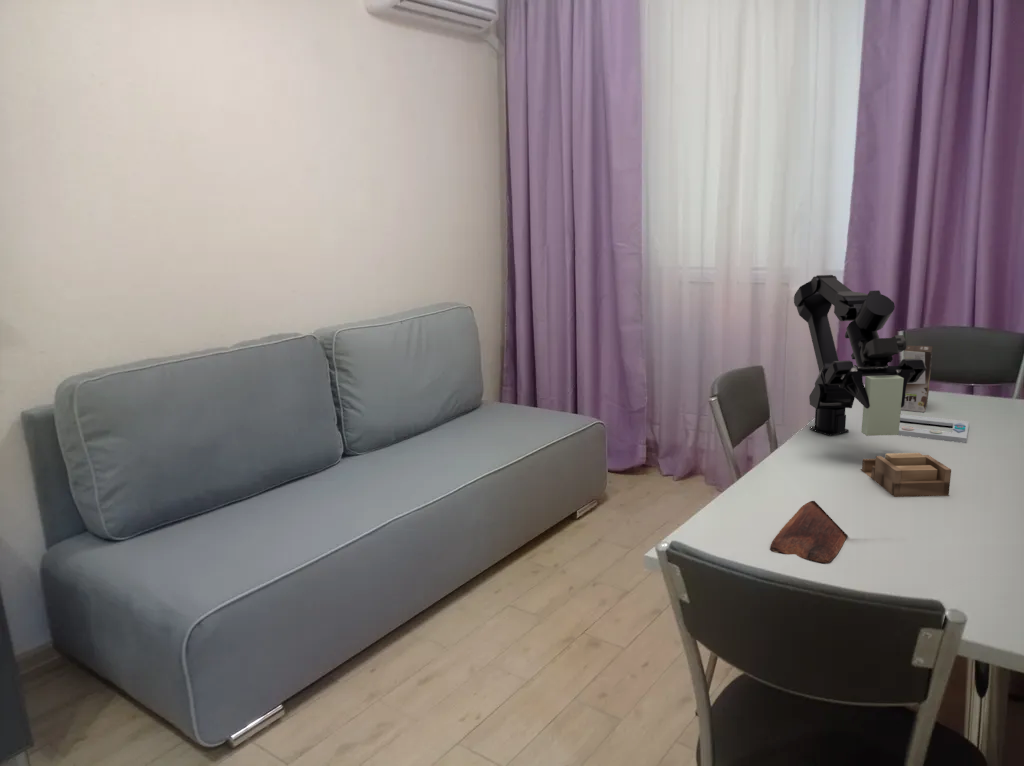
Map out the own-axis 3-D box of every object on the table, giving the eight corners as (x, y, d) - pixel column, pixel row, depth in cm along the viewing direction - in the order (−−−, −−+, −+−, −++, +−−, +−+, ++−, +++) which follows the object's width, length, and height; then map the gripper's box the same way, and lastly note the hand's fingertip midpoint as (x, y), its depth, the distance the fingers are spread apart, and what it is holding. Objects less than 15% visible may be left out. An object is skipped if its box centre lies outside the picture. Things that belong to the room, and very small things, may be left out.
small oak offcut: (893, 488, 142) (895, 466, 141) (928, 487, 142) (930, 465, 141) (899, 493, 140) (901, 470, 139) (935, 492, 140) (937, 469, 139)
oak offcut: (883, 480, 146) (885, 453, 145) (916, 479, 146) (919, 452, 145) (889, 484, 144) (891, 457, 143) (923, 484, 144) (926, 457, 142)
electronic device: (969, 419, 181) (966, 436, 169) (968, 428, 182) (965, 446, 170) (886, 410, 191) (877, 426, 179) (885, 419, 192) (877, 435, 179)
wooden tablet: (807, 492, 142) (864, 496, 136) (808, 503, 142) (865, 508, 136) (765, 546, 121) (830, 553, 115) (766, 559, 121) (831, 567, 115)
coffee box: (925, 412, 194) (931, 351, 190) (898, 409, 197) (903, 350, 194) (928, 404, 202) (933, 345, 198) (901, 401, 205) (906, 344, 201)
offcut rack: (859, 473, 153) (861, 445, 152) (909, 472, 153) (911, 444, 151) (894, 501, 138) (896, 471, 137) (948, 500, 138) (952, 470, 137)
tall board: (861, 432, 156) (865, 376, 153) (892, 431, 156) (897, 375, 153) (866, 435, 154) (871, 379, 151) (898, 434, 153) (903, 378, 151)
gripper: (833, 323, 153) (852, 387, 145) (926, 320, 153) (950, 385, 145) (817, 353, 163) (833, 415, 155) (904, 350, 162) (925, 413, 154)
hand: (885, 407), depth 152 cm, fingers closed on tall board, 6 cm apart
